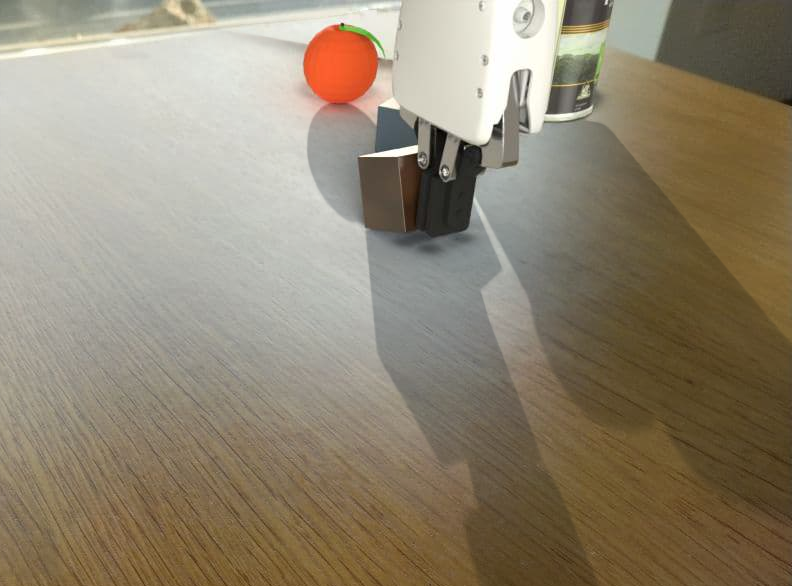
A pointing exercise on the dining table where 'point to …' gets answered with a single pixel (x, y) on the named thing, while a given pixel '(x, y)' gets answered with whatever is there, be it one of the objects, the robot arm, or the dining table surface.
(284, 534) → the dining table surface
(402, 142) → the slate block
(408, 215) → the copper block
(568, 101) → the coffee can
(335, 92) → the clementine
